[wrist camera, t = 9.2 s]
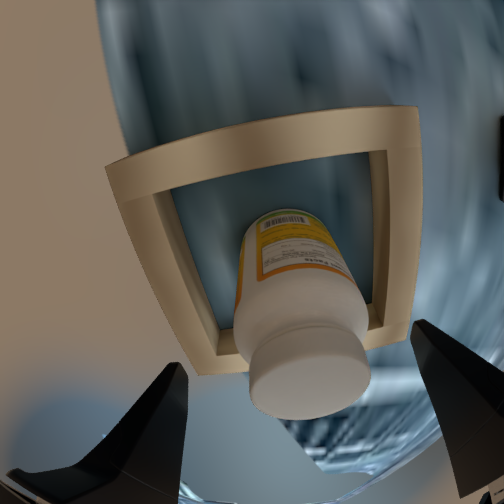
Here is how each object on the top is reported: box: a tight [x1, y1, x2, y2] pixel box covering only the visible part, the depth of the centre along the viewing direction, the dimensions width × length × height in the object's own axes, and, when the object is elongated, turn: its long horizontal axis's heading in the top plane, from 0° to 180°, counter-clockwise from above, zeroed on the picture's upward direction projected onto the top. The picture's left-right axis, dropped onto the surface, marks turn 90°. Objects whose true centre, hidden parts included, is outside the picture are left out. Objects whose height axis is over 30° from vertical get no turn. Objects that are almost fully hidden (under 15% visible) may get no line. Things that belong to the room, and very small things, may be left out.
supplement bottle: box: [233, 209, 371, 420], centre depth 12 cm, size 5×5×10 cm
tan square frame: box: [105, 105, 423, 376], centre depth 15 cm, size 15×15×2 cm
